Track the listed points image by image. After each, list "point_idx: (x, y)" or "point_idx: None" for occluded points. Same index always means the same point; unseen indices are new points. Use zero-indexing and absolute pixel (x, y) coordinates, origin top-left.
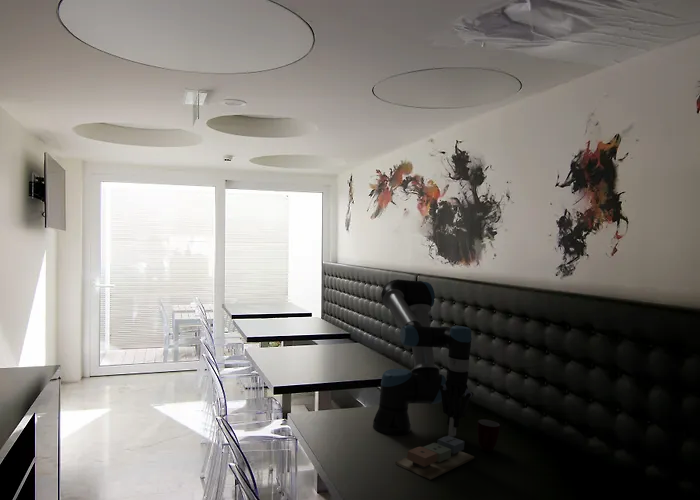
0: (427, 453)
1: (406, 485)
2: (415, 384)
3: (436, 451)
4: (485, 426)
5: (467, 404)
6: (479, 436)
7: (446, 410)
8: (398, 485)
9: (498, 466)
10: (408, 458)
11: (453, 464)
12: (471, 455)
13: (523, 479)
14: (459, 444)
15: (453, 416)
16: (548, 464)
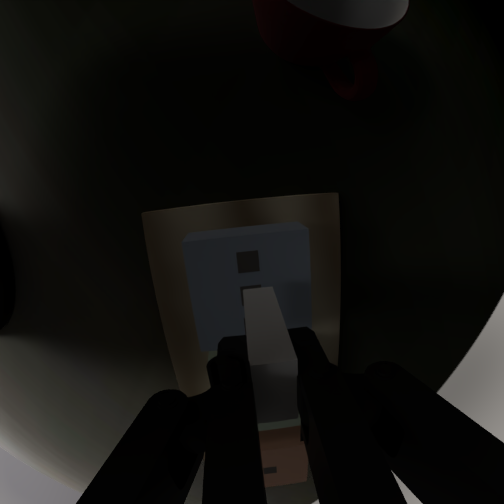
0: (288, 465)
1: (304, 485)
2: None
3: (284, 422)
4: (366, 32)
5: (500, 470)
6: (295, 52)
7: (198, 459)
8: (293, 493)
9: (425, 172)
10: None
11: (329, 349)
12: (324, 196)
13: (494, 199)
14: (310, 288)
15: (257, 379)
16: (466, 21)
